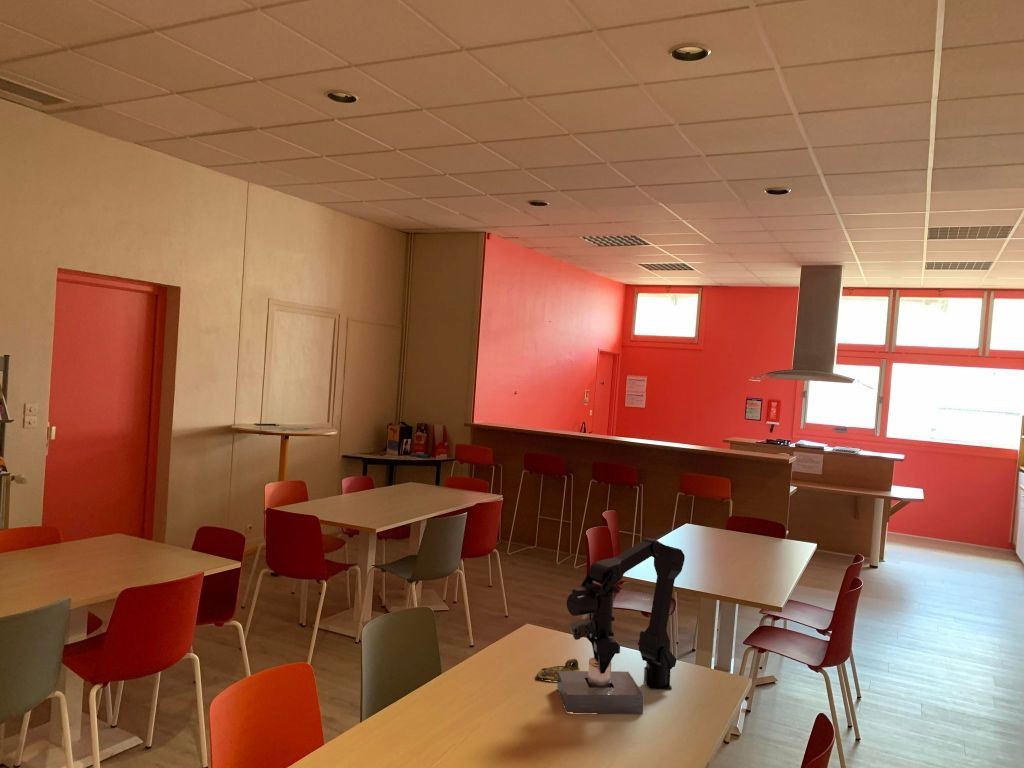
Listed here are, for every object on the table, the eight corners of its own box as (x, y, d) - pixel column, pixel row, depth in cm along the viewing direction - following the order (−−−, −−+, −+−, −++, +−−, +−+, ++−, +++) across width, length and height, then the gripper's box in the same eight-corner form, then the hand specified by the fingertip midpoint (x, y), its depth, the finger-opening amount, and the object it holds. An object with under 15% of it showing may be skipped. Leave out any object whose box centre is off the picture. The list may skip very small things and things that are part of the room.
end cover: (607, 687, 206) (608, 657, 206) (612, 696, 200) (613, 665, 200) (585, 687, 205) (587, 657, 205) (590, 696, 199) (591, 665, 199)
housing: (627, 689, 211) (628, 671, 211) (642, 714, 195) (643, 694, 195) (557, 689, 209) (557, 671, 209) (566, 714, 193) (567, 694, 193)
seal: (546, 690, 212) (587, 680, 220) (548, 674, 211) (589, 664, 220) (527, 675, 219) (568, 666, 228) (529, 660, 219) (569, 651, 227)
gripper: (566, 600, 211) (564, 655, 211) (578, 621, 192) (576, 682, 192) (605, 600, 212) (603, 656, 212) (621, 621, 193) (619, 682, 193)
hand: (599, 668), depth 202 cm, fingers closed on end cover, 6 cm apart
